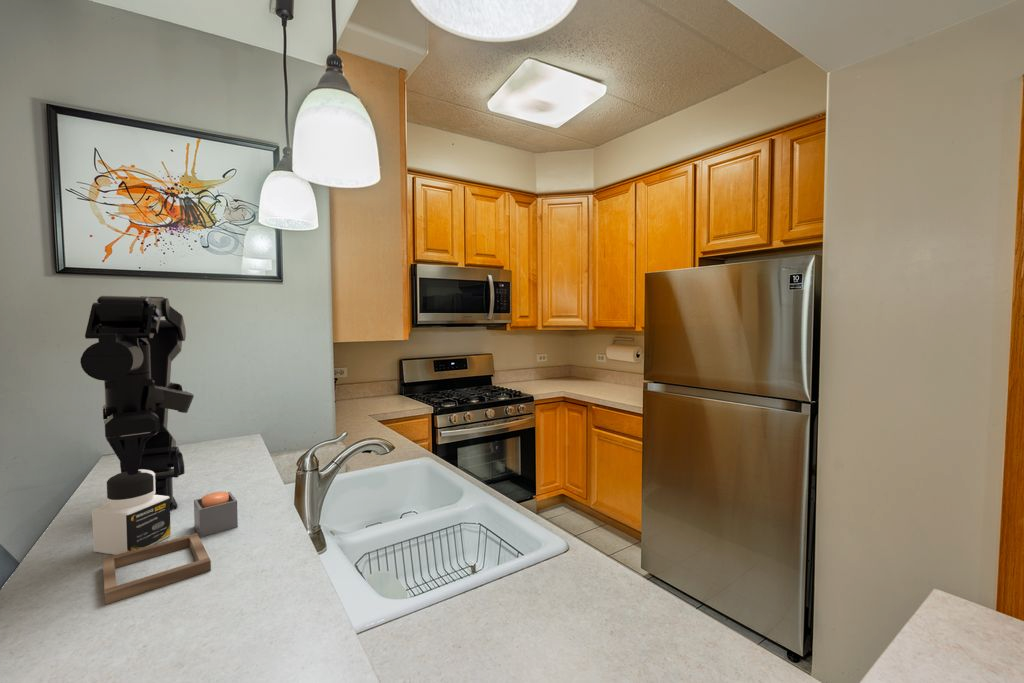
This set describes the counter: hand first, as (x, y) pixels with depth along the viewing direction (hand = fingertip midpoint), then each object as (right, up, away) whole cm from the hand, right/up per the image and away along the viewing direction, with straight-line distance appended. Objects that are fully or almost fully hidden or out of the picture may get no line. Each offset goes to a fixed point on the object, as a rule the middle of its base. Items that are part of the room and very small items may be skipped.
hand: (131, 467), depth 72 cm
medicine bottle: (0, -13, +1) cm, 13 cm away
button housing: (+9, -13, +7) cm, 17 cm away
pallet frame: (+10, -13, -7) cm, 18 cm away
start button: (+9, -9, +7) cm, 15 cm away
